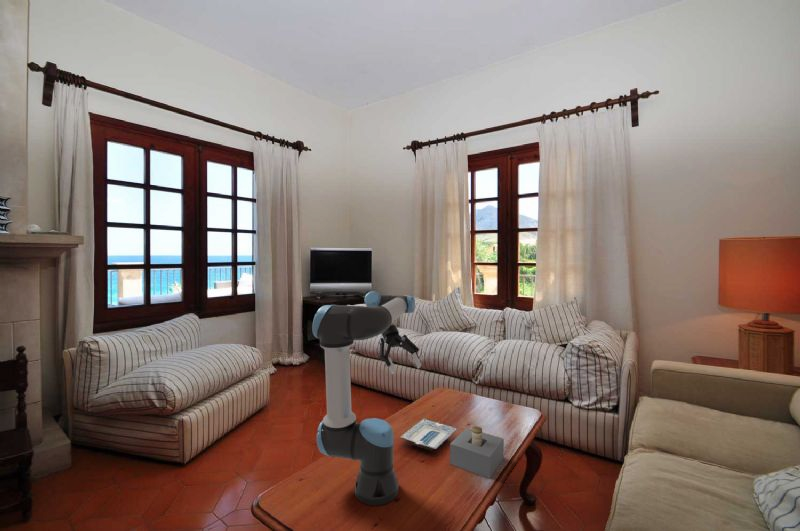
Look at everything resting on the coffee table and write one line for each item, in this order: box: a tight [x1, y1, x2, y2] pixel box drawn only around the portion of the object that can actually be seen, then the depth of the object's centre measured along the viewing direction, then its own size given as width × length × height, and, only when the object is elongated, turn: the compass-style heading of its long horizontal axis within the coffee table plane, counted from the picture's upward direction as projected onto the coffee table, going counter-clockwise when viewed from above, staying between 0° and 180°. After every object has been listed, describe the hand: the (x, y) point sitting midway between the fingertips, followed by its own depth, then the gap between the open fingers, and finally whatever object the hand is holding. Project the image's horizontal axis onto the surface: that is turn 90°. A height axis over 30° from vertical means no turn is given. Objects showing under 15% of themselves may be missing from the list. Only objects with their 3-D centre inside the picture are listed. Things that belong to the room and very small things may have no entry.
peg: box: [471, 425, 483, 447], centre depth 139 cm, size 4×4×12 cm
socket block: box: [449, 427, 505, 480], centre depth 139 cm, size 16×16×8 cm
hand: (407, 369), depth 149 cm, fingers open, 13 cm apart
